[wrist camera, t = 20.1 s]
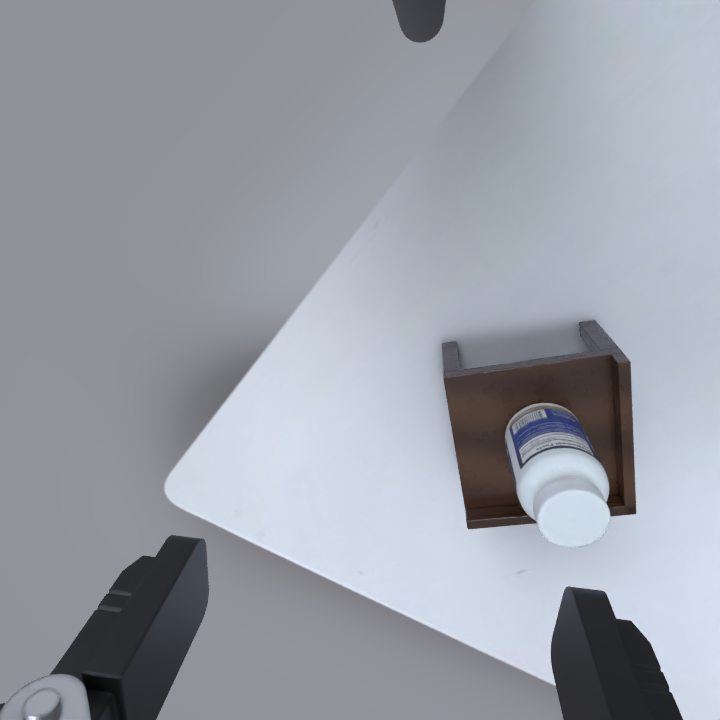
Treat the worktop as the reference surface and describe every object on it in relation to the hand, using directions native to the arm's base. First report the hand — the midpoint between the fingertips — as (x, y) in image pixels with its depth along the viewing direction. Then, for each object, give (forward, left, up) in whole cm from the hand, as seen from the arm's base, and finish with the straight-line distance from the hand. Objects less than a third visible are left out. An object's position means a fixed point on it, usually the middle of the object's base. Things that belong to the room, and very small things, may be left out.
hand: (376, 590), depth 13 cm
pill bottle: (+12, +7, -27) cm, 31 cm away
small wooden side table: (+13, +7, -34) cm, 37 cm away
